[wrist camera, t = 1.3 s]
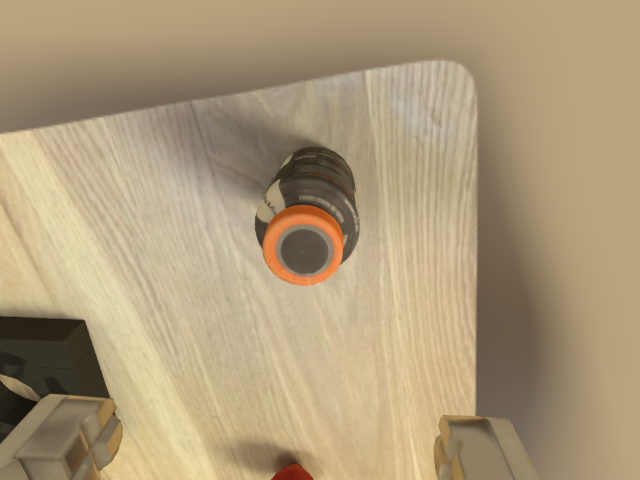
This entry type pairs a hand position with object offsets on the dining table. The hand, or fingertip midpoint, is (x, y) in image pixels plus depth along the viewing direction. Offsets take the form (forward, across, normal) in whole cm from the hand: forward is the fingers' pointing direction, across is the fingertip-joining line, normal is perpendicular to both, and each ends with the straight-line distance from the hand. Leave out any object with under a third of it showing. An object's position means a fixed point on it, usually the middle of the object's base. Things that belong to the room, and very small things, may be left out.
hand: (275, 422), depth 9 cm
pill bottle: (+21, 0, 0) cm, 21 cm away
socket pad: (+21, +30, +22) cm, 43 cm away
